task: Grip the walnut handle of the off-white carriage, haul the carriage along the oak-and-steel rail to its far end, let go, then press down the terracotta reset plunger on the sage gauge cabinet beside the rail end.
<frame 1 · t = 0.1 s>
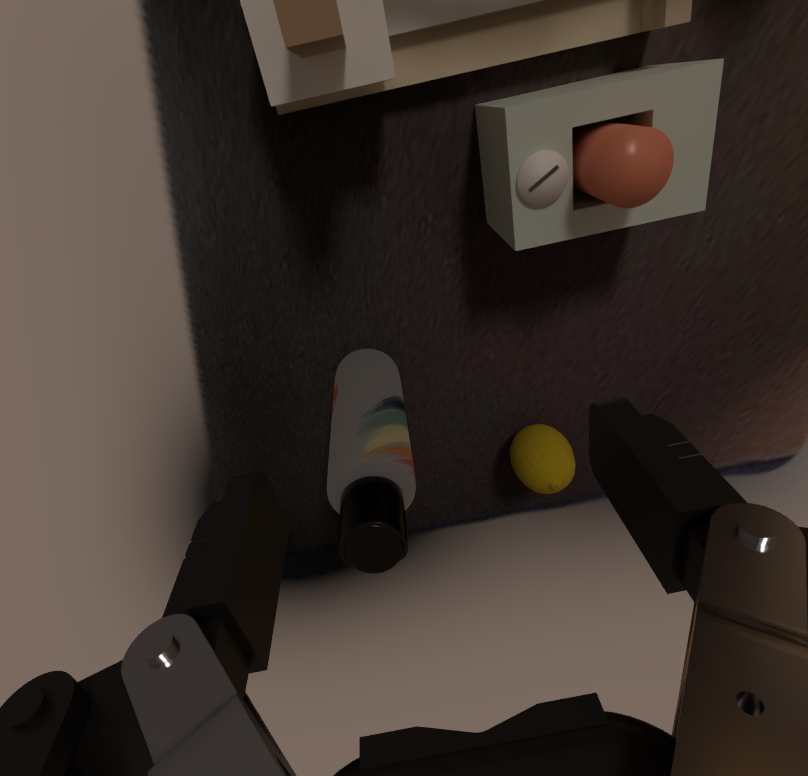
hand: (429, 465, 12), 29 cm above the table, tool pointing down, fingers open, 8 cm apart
gauge cabinet: (562, 149, 36), on the table
lotion bottle: (367, 374, 44), on the table
carriage: (315, 21, 24), point 8 cm above the table, slide at 0.0 cm
lemon: (527, 430, 49), on the table
rail: (456, 7, 31), on the table
gauge plunger: (611, 162, 29), point 8 cm above the table, slide at 0.0 cm
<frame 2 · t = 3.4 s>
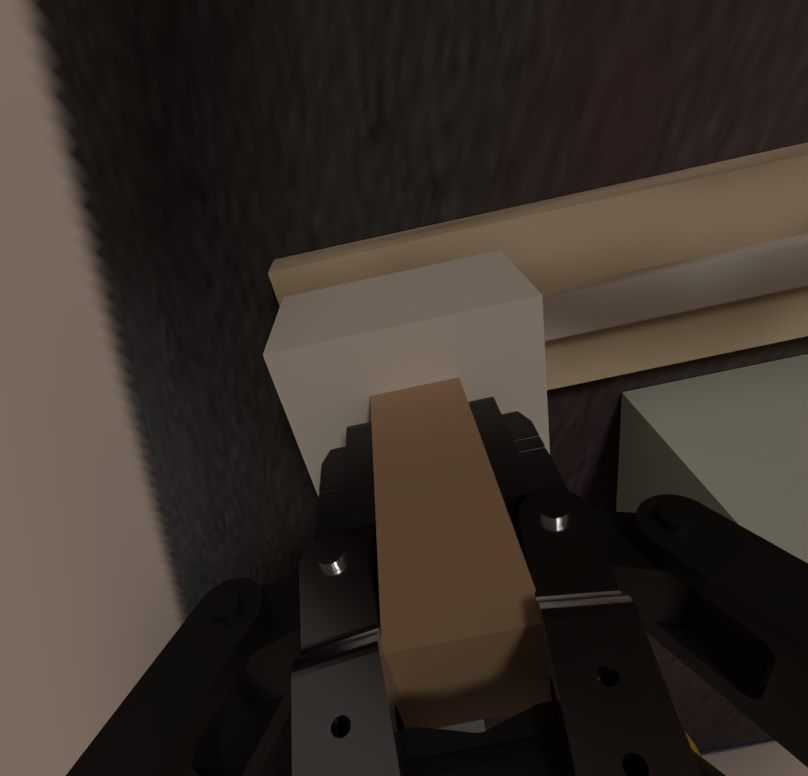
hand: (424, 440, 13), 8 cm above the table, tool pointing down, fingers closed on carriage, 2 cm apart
gauge cabinet: (740, 435, 24), on the table
lotion bottle: (428, 666, 32), on the table
carriage: (429, 457, 12), point 8 cm above the table, slide at 0.0 cm, touching gripper
rail: (614, 278, 19), on the table
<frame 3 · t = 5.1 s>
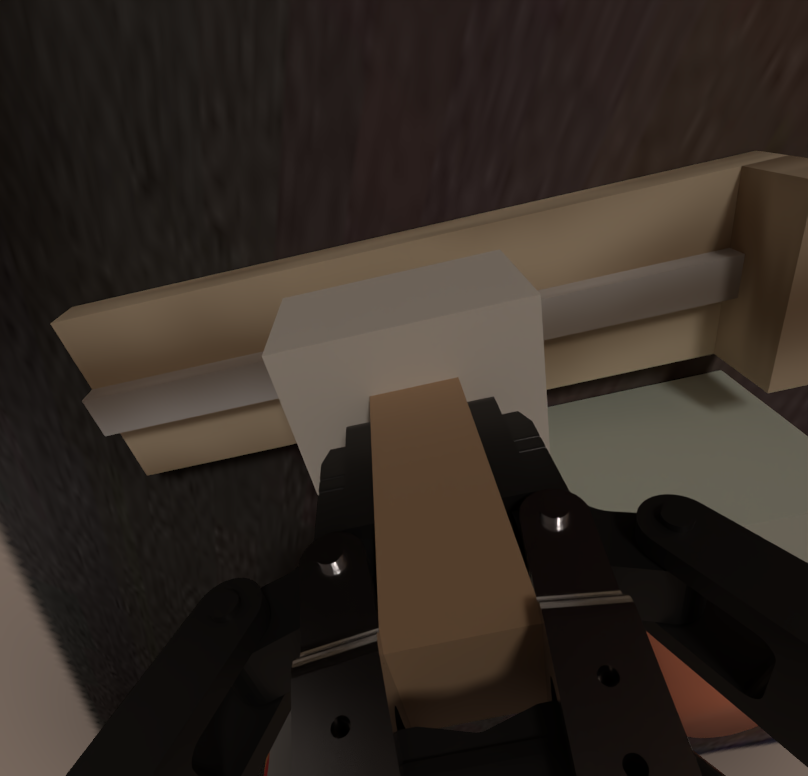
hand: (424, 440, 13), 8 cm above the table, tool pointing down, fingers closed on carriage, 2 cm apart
gauge cabinet: (587, 465, 24), on the table
lotion bottle: (319, 688, 33), on the table
carriage: (428, 457, 12), point 8 cm above the table, slide at 7.7 cm, touching gripper
rail: (423, 319, 19), on the table
gauge plunger: (678, 613, 17), point 8 cm above the table, slide at 0.0 cm
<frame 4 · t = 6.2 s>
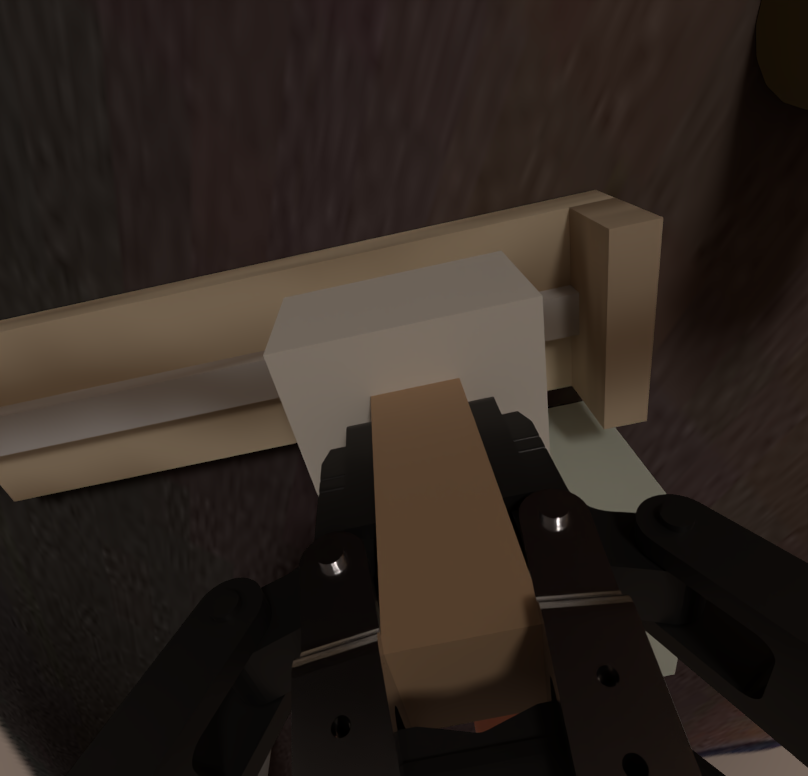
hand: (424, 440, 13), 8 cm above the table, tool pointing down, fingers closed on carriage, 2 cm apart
gauge cabinet: (472, 490, 24), on the table
carriage: (429, 457, 12), point 8 cm above the table, slide at 13.4 cm, touching gripper
rail: (283, 349, 20), on the table
gauge plunger: (517, 646, 17), point 8 cm above the table, slide at 0.0 cm
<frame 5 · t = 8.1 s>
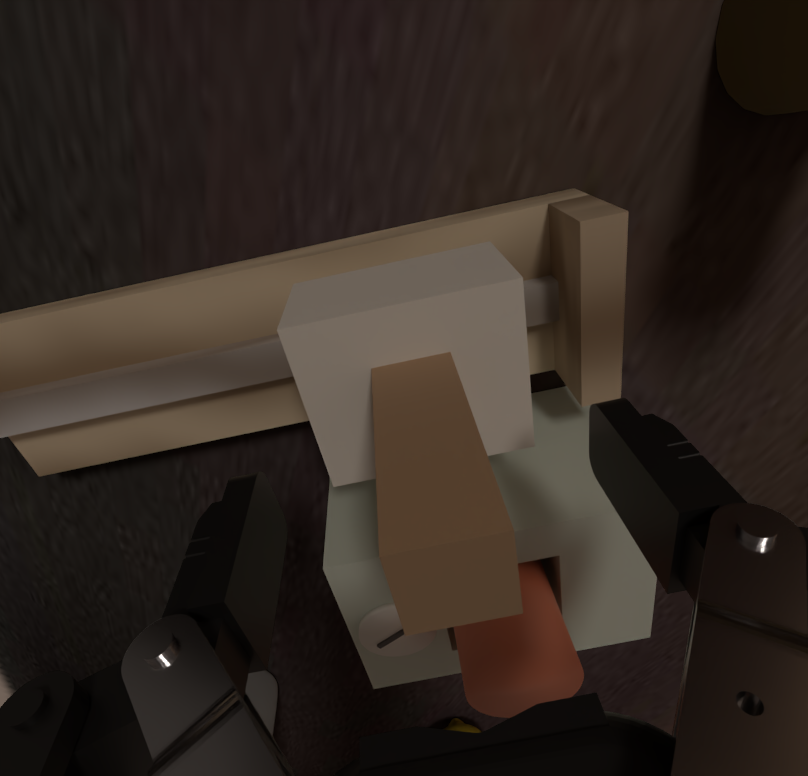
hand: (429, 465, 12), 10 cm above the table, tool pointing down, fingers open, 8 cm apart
cork: (800, 15, 17), on the table
gauge cabinet: (464, 471, 26), on the table
lotion bottle: (238, 681, 34), on the table
carriage: (423, 421, 14), point 8 cm above the table, slide at 13.5 cm
lemon: (454, 716, 39), on the table
rail: (288, 335, 21), on the table
gauge plunger: (502, 606, 19), point 8 cm above the table, slide at 0.0 cm
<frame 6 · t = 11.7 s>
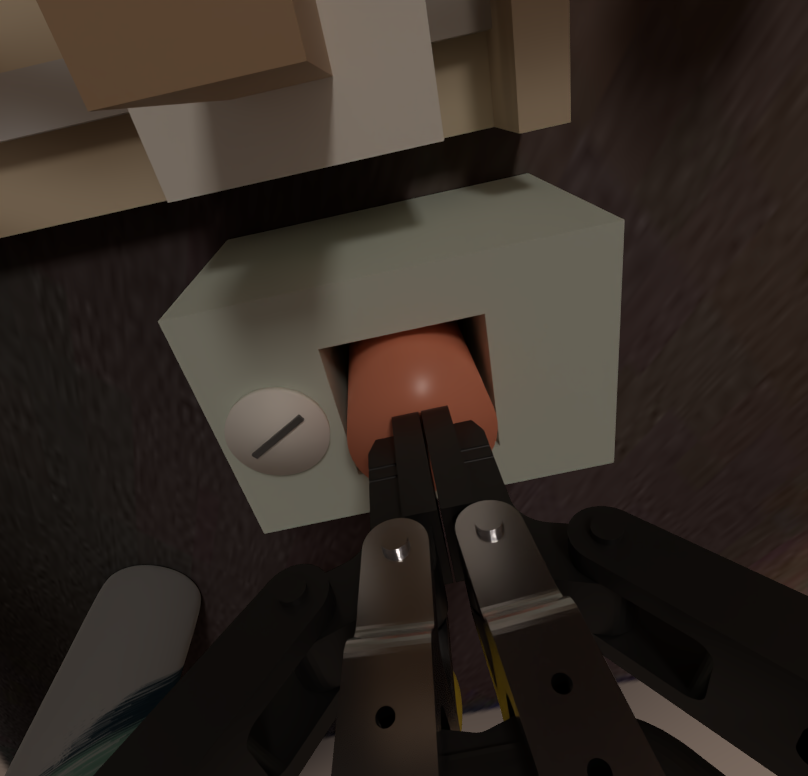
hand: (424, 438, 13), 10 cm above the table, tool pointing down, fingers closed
gauge cabinet: (396, 301, 21), on the table
lotion bottle: (155, 591, 30), on the table
carriage: (250, 14, 9), point 8 cm above the table, slide at 13.5 cm
rail: (151, 80, 16), on the table
gauge plunger: (411, 379, 16), point 7 cm above the table, slide at 1.3 cm, touching gripper
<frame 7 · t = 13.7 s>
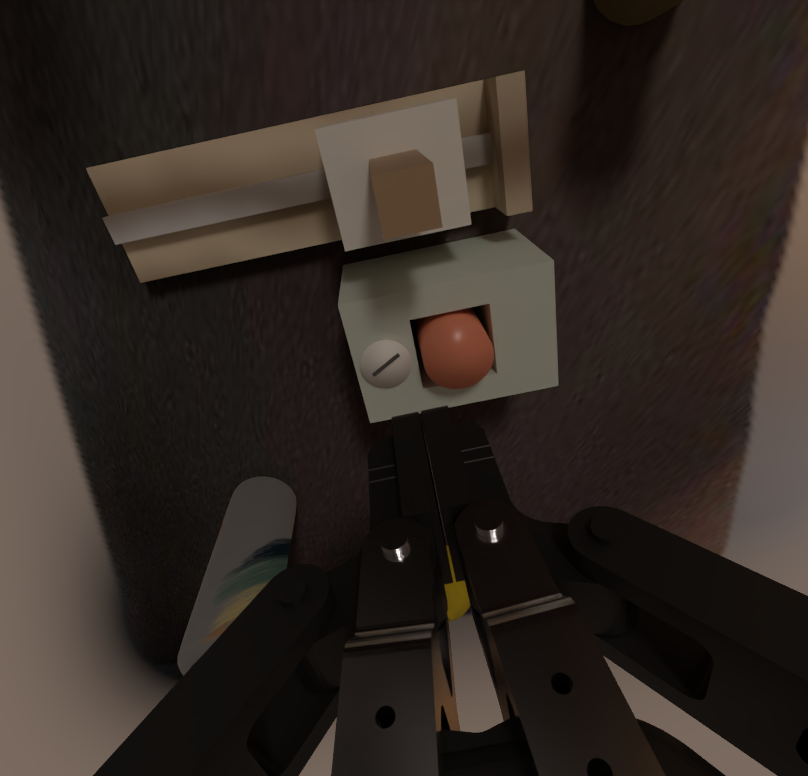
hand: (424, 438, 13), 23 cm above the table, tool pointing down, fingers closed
gauge cabinet: (437, 301, 36), on the table
lotion bottle: (265, 497, 44), on the table
carriage: (399, 183, 24), point 8 cm above the table, slide at 13.5 cm
lemon: (436, 545, 49), on the table
rail: (313, 182, 31), on the table
gauge plunger: (450, 336, 30), point 6 cm above the table, slide at 1.6 cm
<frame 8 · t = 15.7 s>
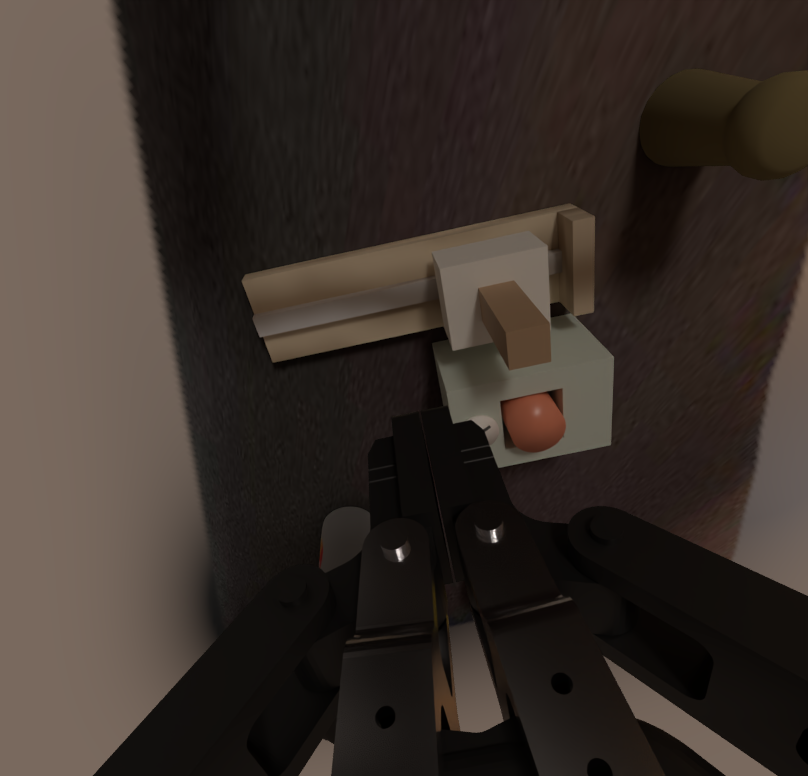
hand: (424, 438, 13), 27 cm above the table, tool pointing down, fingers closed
cork: (680, 119, 35), on the table
gauge cabinet: (505, 368, 44), on the table
lotion bottle: (349, 523, 52), on the table
carriage: (503, 309, 32), point 8 cm above the table, slide at 13.5 cm
rail: (414, 283, 39), on the table
gauge plunger: (526, 408, 38), point 6 cm above the table, slide at 1.6 cm
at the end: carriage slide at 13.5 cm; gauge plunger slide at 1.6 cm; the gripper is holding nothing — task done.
